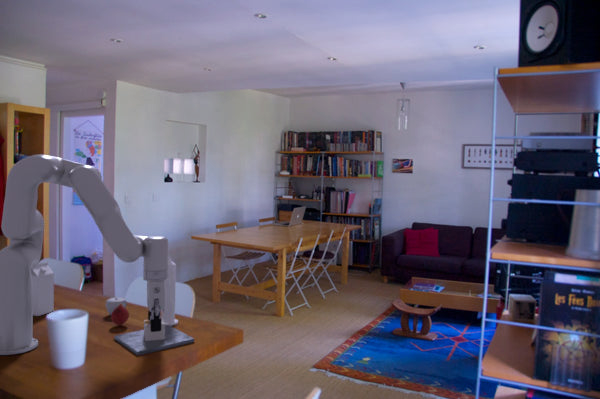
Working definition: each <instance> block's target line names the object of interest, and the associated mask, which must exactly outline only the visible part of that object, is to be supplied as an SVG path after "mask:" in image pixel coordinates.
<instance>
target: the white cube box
mask: <svg viewBox="0 0 600 399" xmlns="http://www.w3.org/2000/svg"><path fill="white" fill-rule="evenodd" d="M143 330H144V338H145V341H151V340H162V339H165V323H164V320H163V319H162V318H161V331H157V332H151V324H150V320H148V319H144V320H143Z"/></svg>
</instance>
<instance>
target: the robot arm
mask: <svg viewBox="0 0 600 399" xmlns="http://www.w3.org/2000/svg"><path fill="white" fill-rule="evenodd" d="M42 183H43V184H44V183H51V184H57V185H60V186H63V187H67V188H70V189H71V188H72V191H74V193H75V194H76V196H77V197H78V199H79V200H80V202H81V203H82V204H83V206H84V207H85V208H86V210H87V211H88V213H89V214H90V216H91V217H92V219H93V221H94V223H95V225H96V227H97V228H98V230H99V232H100V233H101V235H102V237H103V239H104V240H105V242H106V243H107V245H108V246H109V247H110V249H111V250H112V252H113V253H114V254H115V256H116V257H117V258H118V260H120V261H121V262H124V263H127V264H128V263H130V264H131V263H133V262H136V261H138V260H139V259H140V257H141V258H143V264H142V265H143V272H142V274H143V276H142V277H143V278H142V279H143V281H146V304H147V308H148V313H147V320H150V316H152V319H151V332H157V331H161V319H162V310H163V311H164V310H165V283H164V280H167V273H168V258H169V239H168V238H167V237H165V236H161V235H153V236H152V235H150V236H143V235H138V234H137V235H136V234H133V233H132V231H131V229H129V226H128V225H127V224H126V221H125V220H124V217H123V215H122V212H121V209H120V205H119V204H118V201H117V200H116V198H115V197H114V196H113V194H112V193H111V191H110V190H109V188H108V187H107V186H106V185H105V182H104V181H103V179H102V174H101V172H100V170H99V169H98V168H97V167H95V166H93V165H90V164H85V163H80V162H76V161H72V160H69V159H64V158H62V157H58V156H53V155H49V154H41V153H39V154H32V155H29V156H26V157H24V158H22V159H20V160H18V161H17V162H16V163H15V164H14V165H13V166H12V167H11V168H10V170H9V173H8V175H7V179H6V184H5V185H6V186H5V195H4V202H3V210H2V218H1V219H2V220H1V225H0V226H1V231H2V235H3V236H4V237H6V238H7V239H9V245H7V246H5V247H3V248H1V250H0V356H10V355H12V356H13V355H19V354H23V353H26V352H29V351H32V350H34V349H36V348H37V347H38V346H39V340H38V339H37V338H35V337H34V336H33V333H34V332H33V331H34V330H33V327H34V326H33V321H34V320H33V317H34V315H33V284H32V276H31V269H32V268H33V267H35V266H36V265H37V264H39V262H40V261H41V257H42V252H43V245H44V244H43V242H44V233H45V220H44V217H43V214H42V213H41V212H40V211H39V210H38V209H37V206H38V205H37V204H38V194H39V193H38V188H39V185H41V184H42Z"/></svg>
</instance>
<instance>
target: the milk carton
mask: <svg viewBox="0 0 600 399" xmlns="http://www.w3.org/2000/svg"><path fill="white" fill-rule="evenodd" d="M31 276H32V284H33V317H34V316H35V317H39V316H42V315H46V314H49V313H50V314H51V313H53V312H55V311H54V310H55V308H54V307H55V306H54V304H55V303H54V301H55V300H54V297H55V295H54V294H55V272H54V271H53V270H52V268H51V267H50V266H49V264H48V261H45V262H40V263H39V262H38V264H37V265H36V266H35V267H33V268H32V269H31ZM52 311H53V312H52Z"/></svg>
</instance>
